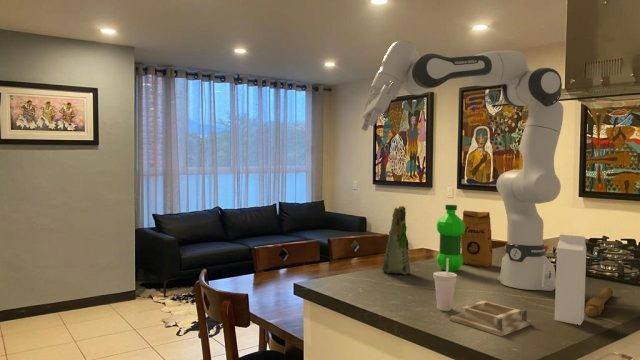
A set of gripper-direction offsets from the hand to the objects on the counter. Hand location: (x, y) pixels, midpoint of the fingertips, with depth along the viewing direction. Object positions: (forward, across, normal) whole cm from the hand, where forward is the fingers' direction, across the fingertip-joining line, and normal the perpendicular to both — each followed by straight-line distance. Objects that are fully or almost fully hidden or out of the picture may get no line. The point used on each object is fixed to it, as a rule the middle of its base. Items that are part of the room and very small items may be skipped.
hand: (367, 127), depth 146 cm
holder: (+38, -29, -45) cm, 66 cm away
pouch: (+38, +27, -36) cm, 59 cm away
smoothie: (+40, -17, -38) cm, 58 cm away
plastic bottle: (+28, +32, -56) cm, 71 cm away
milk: (+29, -28, -65) cm, 77 cm away
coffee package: (+21, +41, -70) cm, 84 cm away
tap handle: (+21, -16, -82) cm, 86 cm away
